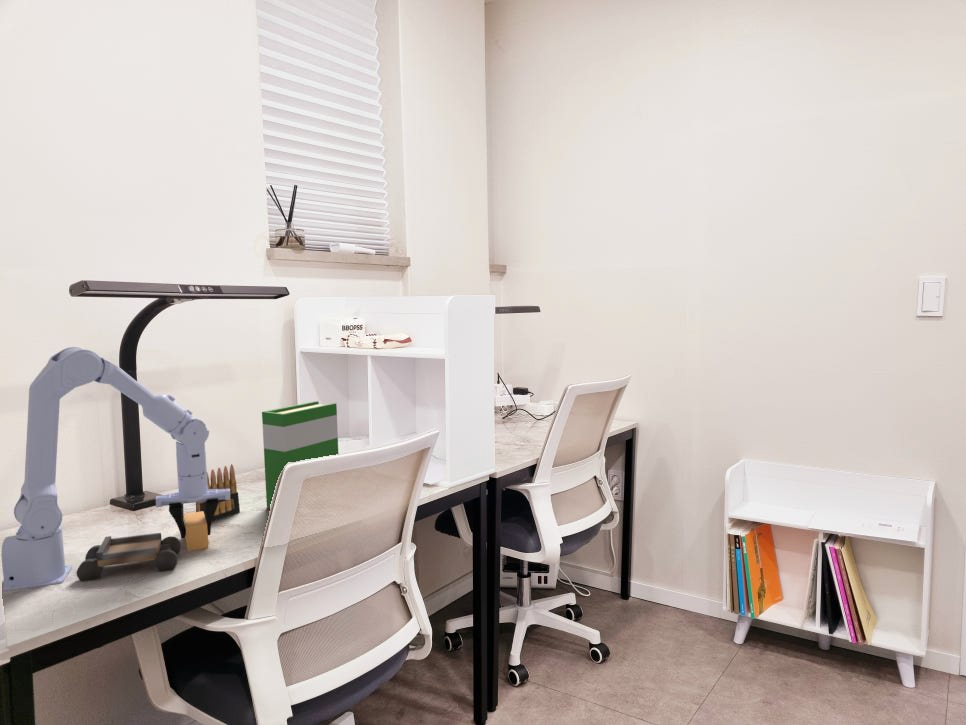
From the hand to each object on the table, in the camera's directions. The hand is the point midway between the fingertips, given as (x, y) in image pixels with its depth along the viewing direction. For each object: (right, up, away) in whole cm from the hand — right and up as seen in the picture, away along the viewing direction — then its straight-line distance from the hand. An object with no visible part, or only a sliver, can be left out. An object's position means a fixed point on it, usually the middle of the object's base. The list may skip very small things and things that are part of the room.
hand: (196, 535), depth 150 cm
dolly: (-7, -3, -14) cm, 16 cm away
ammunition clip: (-1, 0, +16) cm, 16 cm away
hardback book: (+16, +2, +28) cm, 32 cm away
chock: (0, -1, 0) cm, 1 cm away
